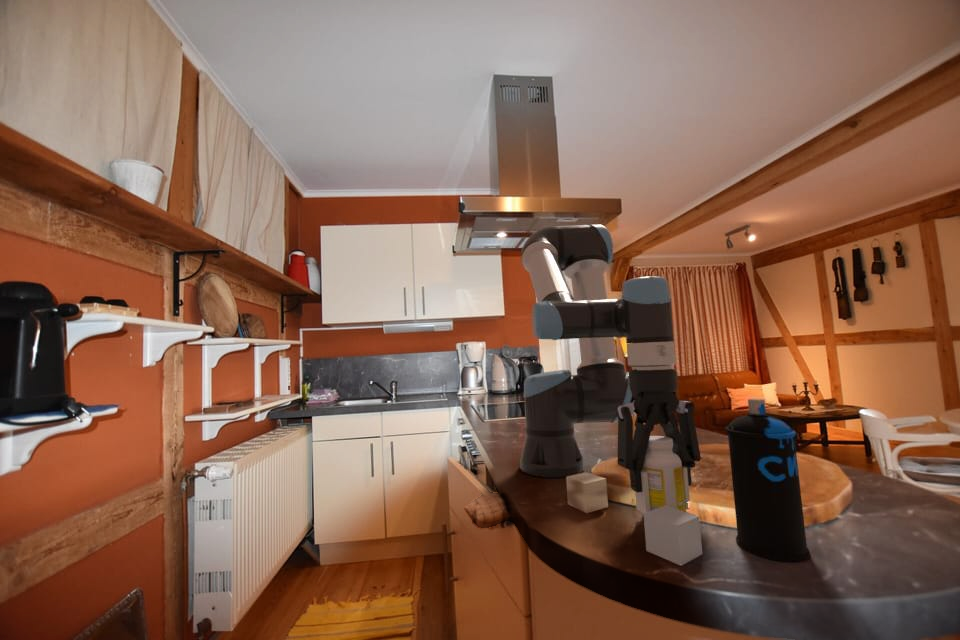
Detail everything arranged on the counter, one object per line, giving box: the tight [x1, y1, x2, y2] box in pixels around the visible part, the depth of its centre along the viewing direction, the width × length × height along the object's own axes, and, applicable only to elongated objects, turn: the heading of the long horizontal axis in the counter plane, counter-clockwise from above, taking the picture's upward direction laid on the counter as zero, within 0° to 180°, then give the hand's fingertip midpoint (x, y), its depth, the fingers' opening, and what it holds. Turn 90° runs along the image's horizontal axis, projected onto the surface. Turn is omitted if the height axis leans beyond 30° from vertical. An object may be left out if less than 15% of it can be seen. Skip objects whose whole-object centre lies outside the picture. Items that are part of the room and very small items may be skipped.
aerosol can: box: [724, 398, 811, 563], centre depth 55 cm, size 8×8×20 cm
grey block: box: [643, 505, 703, 566], centre depth 54 cm, size 5×5×5 cm
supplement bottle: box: [642, 435, 687, 516], centre depth 66 cm, size 7×7×13 cm
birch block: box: [565, 471, 609, 514], centre depth 72 cm, size 5×5×5 cm
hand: (663, 508), depth 65 cm, fingers closed on supplement bottle, 7 cm apart
